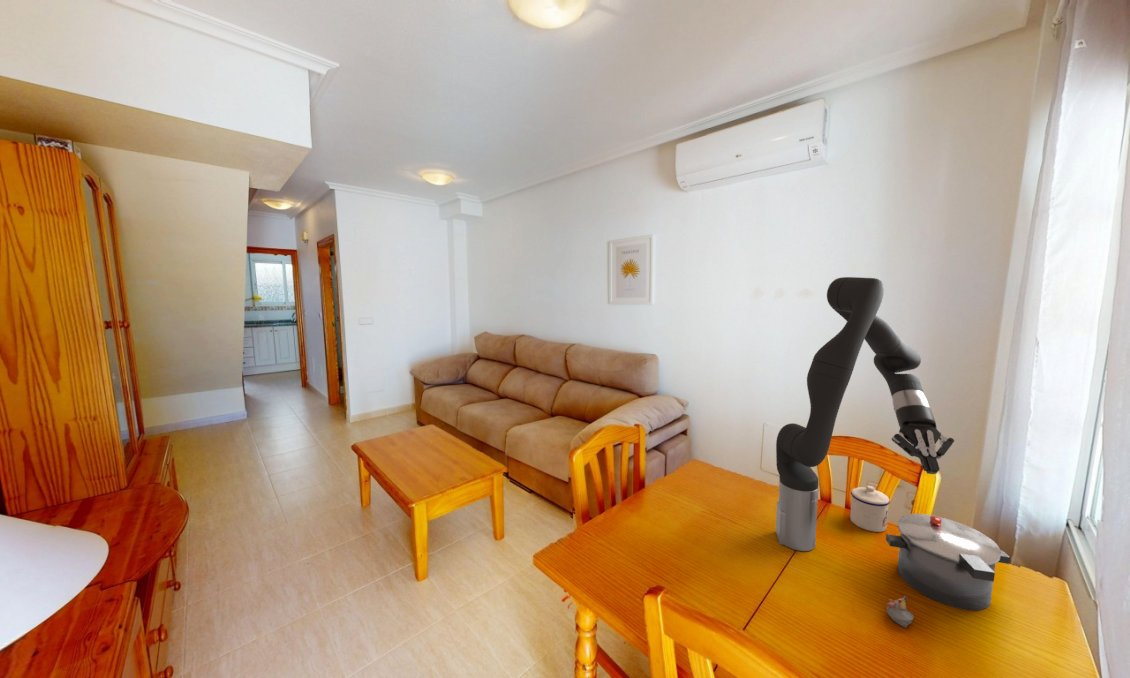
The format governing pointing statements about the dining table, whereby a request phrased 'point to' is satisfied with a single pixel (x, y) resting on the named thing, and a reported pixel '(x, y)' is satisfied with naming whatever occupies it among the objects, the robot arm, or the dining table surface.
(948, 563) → the pot
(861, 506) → the white lidded canister
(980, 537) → the lid
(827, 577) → the dining table surface
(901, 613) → the figurine
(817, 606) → the dining table surface
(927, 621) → the dining table surface
